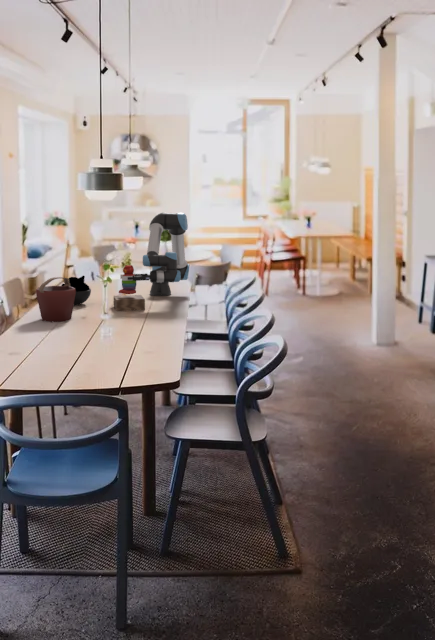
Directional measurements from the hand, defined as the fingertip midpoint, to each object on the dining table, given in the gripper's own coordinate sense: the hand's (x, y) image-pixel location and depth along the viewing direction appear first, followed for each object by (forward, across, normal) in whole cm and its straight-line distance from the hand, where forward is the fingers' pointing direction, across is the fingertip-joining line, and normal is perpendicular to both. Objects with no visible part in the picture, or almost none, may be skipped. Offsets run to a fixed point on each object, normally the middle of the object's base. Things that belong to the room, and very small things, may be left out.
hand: (121, 277), depth 504 cm
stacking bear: (-5, 0, -10) cm, 11 cm away
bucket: (+42, -31, -20) cm, 56 cm away
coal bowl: (+28, +21, -20) cm, 40 cm away
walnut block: (-5, 0, -20) cm, 21 cm away
